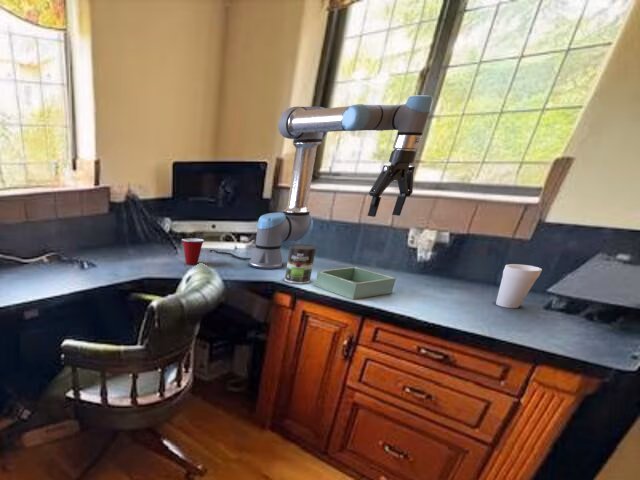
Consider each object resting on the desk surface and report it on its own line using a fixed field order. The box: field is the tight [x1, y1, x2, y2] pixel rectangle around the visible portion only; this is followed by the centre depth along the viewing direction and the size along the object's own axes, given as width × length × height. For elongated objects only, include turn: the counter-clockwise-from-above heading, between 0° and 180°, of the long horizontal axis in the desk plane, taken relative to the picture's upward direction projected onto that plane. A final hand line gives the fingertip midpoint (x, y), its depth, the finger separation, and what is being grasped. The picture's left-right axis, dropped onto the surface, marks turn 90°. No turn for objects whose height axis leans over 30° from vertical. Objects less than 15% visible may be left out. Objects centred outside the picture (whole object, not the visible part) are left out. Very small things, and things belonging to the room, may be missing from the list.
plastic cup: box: [181, 237, 205, 266], centre depth 208 cm, size 11×11×12 cm
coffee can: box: [284, 243, 317, 285], centre depth 175 cm, size 10×10×14 cm
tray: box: [314, 266, 397, 300], centre depth 165 cm, size 20×19×6 cm
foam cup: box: [495, 263, 543, 309], centre depth 143 cm, size 10×9×13 cm
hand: (383, 215), depth 155 cm, fingers open, 13 cm apart
